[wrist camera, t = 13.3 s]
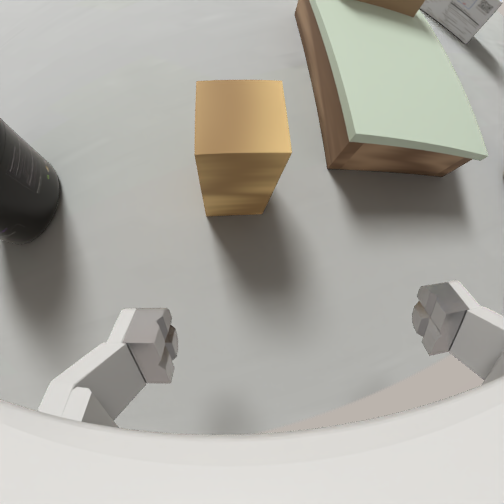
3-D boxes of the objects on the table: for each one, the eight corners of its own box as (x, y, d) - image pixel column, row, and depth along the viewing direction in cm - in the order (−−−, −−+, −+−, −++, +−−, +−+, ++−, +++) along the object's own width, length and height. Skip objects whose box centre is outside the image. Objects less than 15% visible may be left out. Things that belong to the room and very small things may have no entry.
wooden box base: (389, 32, 24) (405, 6, 20) (441, 177, 22) (474, 157, 17) (294, 14, 23) (303, -18, 19) (327, 168, 21) (351, 139, 16)
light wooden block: (258, 163, 20) (281, 80, 12) (262, 214, 20) (291, 152, 11) (205, 165, 20) (196, 81, 11) (206, 216, 20) (194, 154, 11)
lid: (408, 4, 20) (427, -26, 15) (480, 160, 17) (523, 135, 12) (300, -22, 18) (311, -62, 14) (349, 141, 16) (388, 93, 11)
